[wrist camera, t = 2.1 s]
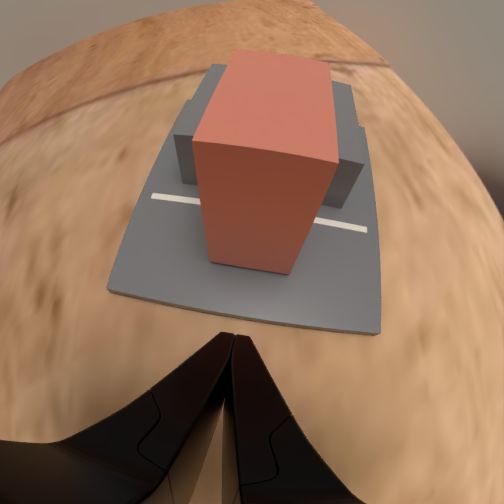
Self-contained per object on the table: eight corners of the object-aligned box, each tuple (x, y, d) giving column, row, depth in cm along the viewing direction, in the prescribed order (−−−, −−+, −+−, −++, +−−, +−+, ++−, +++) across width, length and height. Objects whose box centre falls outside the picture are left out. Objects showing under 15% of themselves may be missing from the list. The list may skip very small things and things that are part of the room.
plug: (289, 274, 18) (338, 163, 9) (210, 261, 18) (191, 140, 9) (298, 177, 22) (328, 63, 13) (233, 167, 22) (236, 49, 13)
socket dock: (375, 335, 18) (423, 312, 13) (110, 292, 18) (70, 255, 13) (361, 133, 27) (380, 89, 21) (187, 105, 27) (183, 58, 22)
